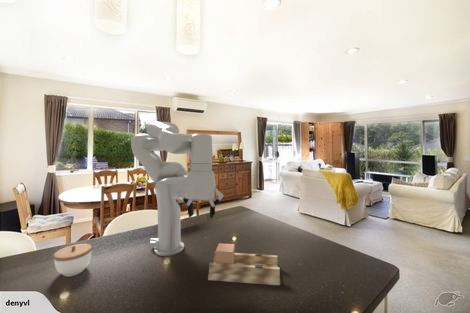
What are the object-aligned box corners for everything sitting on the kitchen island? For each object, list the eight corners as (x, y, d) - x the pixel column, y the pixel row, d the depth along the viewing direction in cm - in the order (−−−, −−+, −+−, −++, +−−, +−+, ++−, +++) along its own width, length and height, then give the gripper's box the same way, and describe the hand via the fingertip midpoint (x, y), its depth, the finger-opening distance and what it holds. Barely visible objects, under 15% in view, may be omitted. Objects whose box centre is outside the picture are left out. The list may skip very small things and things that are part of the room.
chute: (208, 279, 70) (208, 266, 70) (215, 260, 82) (215, 249, 82) (280, 285, 68) (280, 271, 67) (276, 265, 80) (276, 252, 79)
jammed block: (215, 270, 73) (215, 250, 73) (218, 261, 79) (218, 243, 79) (232, 271, 72) (232, 252, 72) (234, 262, 78) (234, 244, 78)
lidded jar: (55, 269, 76) (54, 244, 75) (91, 260, 82) (90, 236, 82) (52, 285, 67) (52, 256, 67) (92, 273, 74) (92, 247, 73)
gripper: (174, 168, 73) (174, 218, 73) (223, 169, 71) (223, 220, 71) (182, 166, 80) (182, 212, 81) (226, 167, 78) (226, 214, 79)
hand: (201, 215), depth 76 cm, fingers open, 7 cm apart
